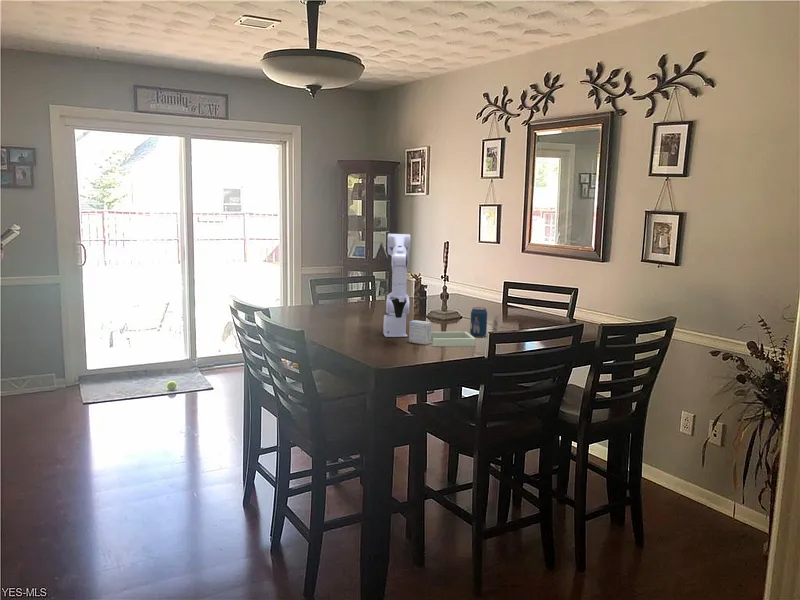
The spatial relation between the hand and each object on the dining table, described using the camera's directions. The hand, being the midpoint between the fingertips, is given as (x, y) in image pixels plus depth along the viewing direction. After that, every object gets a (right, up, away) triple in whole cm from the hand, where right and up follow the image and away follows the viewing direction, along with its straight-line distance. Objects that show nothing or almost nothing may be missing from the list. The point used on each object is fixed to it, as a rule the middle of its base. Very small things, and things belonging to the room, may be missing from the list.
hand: (398, 317), depth 253 cm
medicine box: (+9, -11, +3) cm, 14 cm away
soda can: (+34, -9, +20) cm, 41 cm away
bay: (+20, -10, +5) cm, 23 cm away
